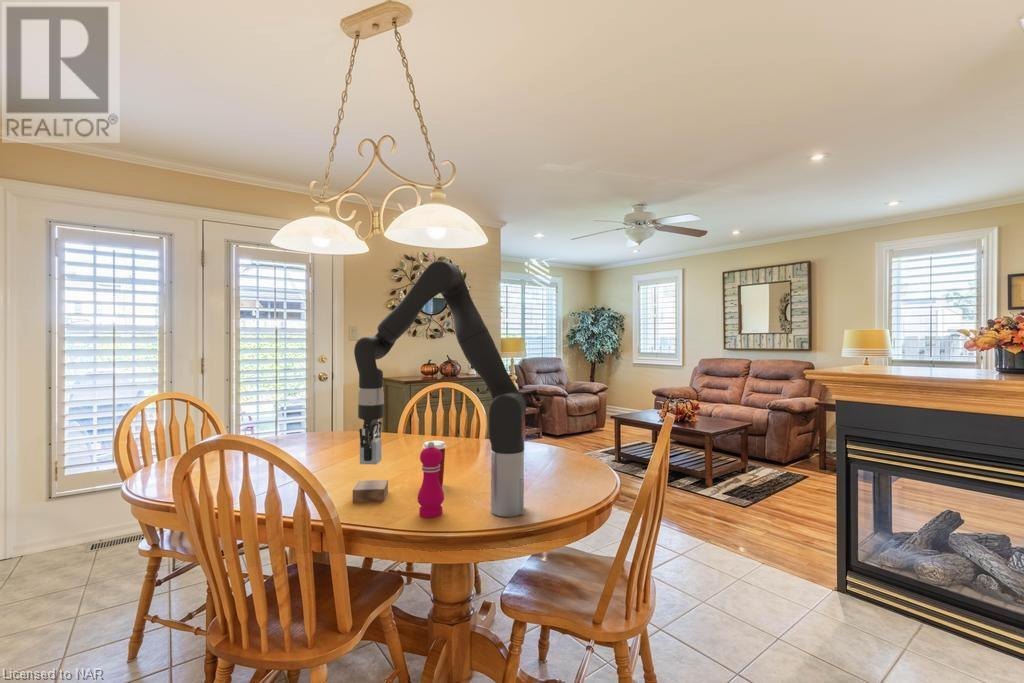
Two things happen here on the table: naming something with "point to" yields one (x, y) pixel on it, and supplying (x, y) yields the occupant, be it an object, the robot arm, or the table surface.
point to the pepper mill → (430, 483)
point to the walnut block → (370, 491)
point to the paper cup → (441, 447)
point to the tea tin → (375, 453)
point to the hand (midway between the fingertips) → (370, 458)
